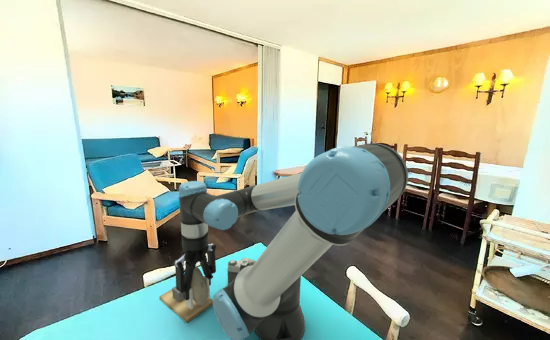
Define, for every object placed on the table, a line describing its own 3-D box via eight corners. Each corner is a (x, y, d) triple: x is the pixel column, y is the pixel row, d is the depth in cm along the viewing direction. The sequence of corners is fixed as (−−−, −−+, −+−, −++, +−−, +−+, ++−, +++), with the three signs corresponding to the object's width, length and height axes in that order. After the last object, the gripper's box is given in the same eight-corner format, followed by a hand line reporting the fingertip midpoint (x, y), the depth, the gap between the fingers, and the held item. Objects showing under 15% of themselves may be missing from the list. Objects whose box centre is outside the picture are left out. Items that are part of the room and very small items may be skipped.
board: (213, 303, 80) (213, 300, 80) (187, 323, 72) (186, 319, 72) (185, 284, 90) (185, 281, 89) (159, 299, 82) (159, 296, 81)
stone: (202, 311, 73) (201, 276, 71) (184, 308, 74) (181, 273, 72) (211, 298, 79) (210, 265, 76) (193, 295, 80) (192, 262, 77)
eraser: (192, 294, 83) (192, 285, 82) (179, 302, 79) (178, 293, 78) (185, 289, 85) (185, 280, 84) (172, 297, 81) (172, 288, 80)
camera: (272, 276, 95) (273, 253, 93) (266, 293, 85) (267, 268, 84) (235, 270, 98) (235, 248, 96) (225, 286, 89) (224, 262, 87)
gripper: (211, 220, 81) (213, 281, 86) (157, 241, 66) (163, 313, 71) (227, 226, 77) (228, 290, 81) (172, 250, 62) (178, 326, 67)
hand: (198, 300), depth 76 cm, fingers closed on stone, 5 cm apart
